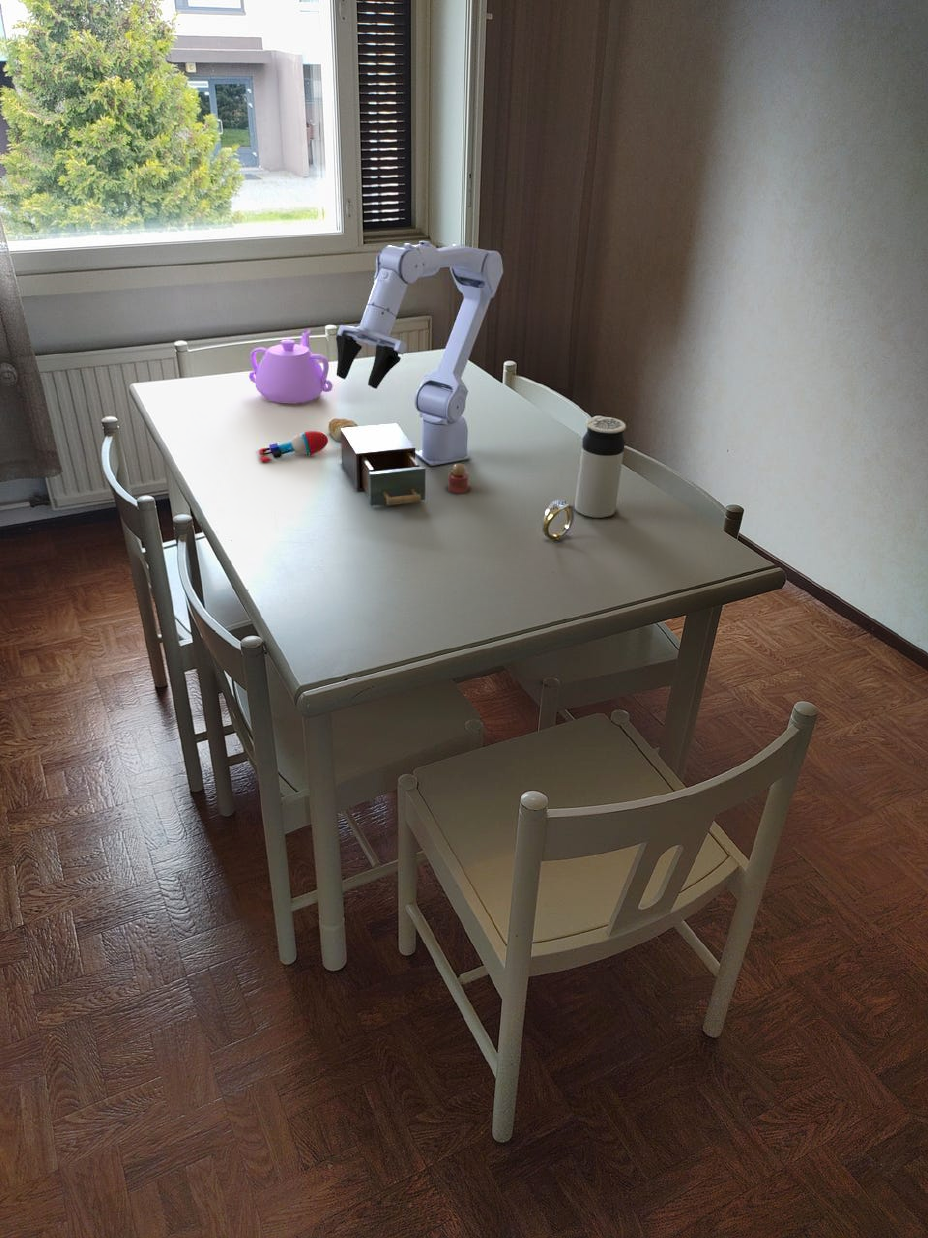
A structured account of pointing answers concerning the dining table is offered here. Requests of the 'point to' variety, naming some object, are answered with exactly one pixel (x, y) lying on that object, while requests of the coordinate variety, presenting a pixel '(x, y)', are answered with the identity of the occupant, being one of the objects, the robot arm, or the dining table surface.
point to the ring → (547, 519)
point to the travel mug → (600, 467)
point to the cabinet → (370, 446)
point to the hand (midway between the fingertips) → (356, 381)
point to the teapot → (290, 372)
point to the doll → (458, 479)
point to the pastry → (339, 427)
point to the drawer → (392, 478)
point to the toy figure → (297, 445)
